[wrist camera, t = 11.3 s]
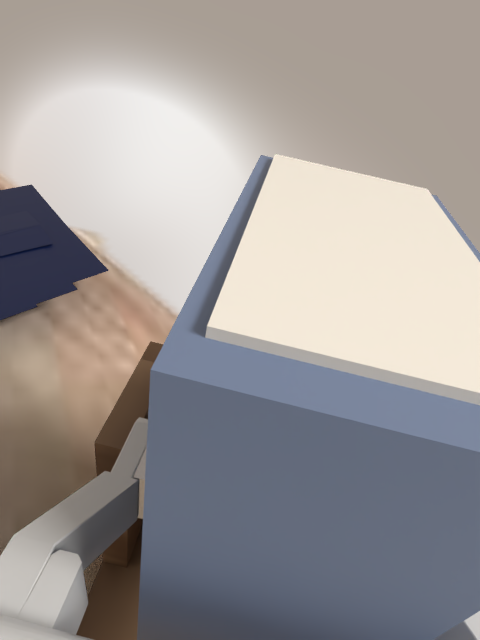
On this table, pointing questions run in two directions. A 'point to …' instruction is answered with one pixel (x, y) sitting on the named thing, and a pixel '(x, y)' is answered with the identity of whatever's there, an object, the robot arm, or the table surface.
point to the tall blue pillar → (318, 421)
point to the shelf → (125, 552)
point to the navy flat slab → (37, 253)
